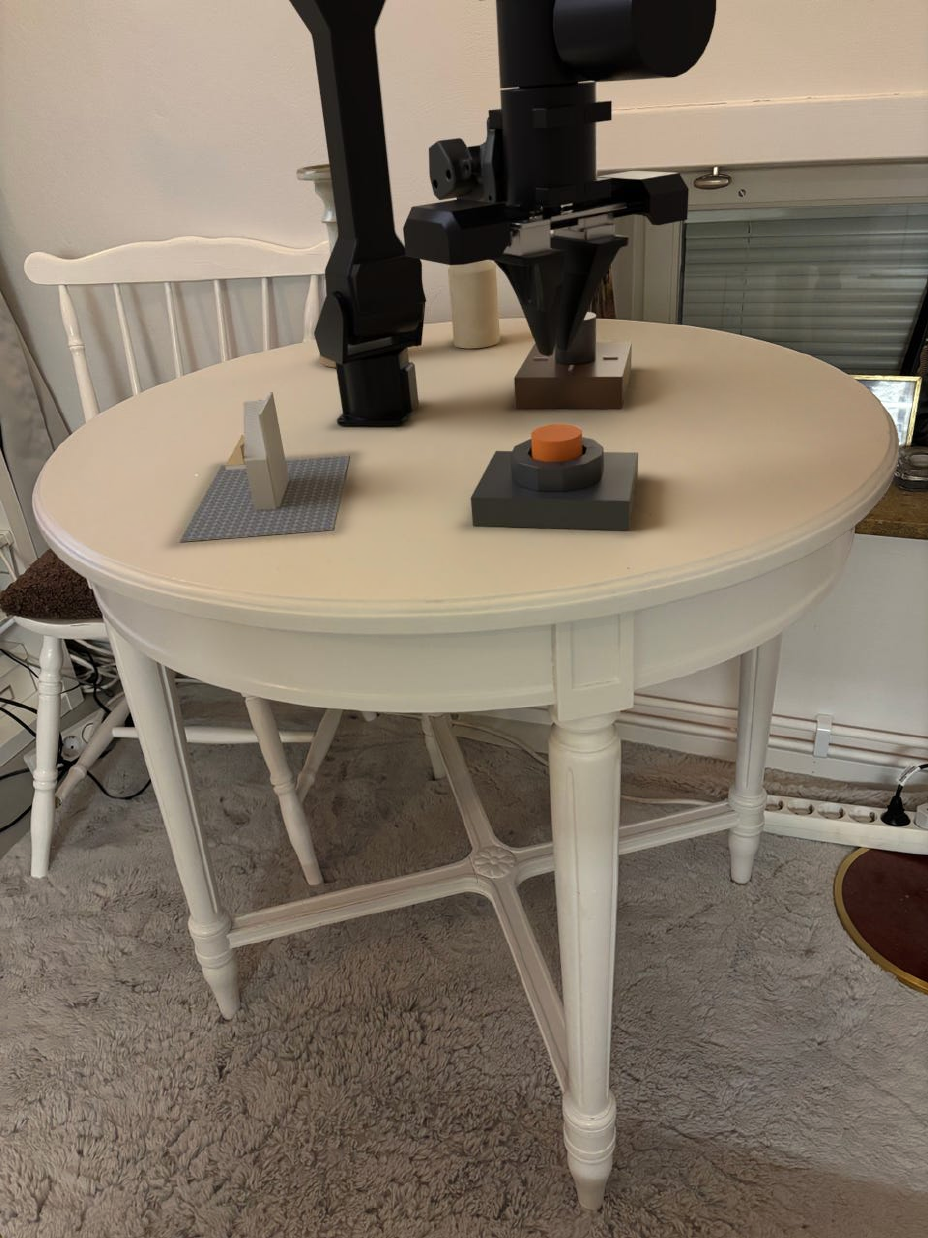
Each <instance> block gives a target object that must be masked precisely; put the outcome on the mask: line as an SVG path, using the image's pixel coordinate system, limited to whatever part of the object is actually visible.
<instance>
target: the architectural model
mask: <svg viewBox="0 0 928 1238" xmlns="http://www.w3.org/2000/svg"><path fill="white" fill-rule="evenodd" d="M279 423H280V422H279V417H278V412H277V407H276V402H275V397H274V392H273V391H269V392H268V395H267V397H266V399H259V400H250V401H249V400H248V401H247V400H246V401H243V434H241V436H240V438H239V439H238V441H237V443H236V445H235V447H234V448H233V451H232V452H231V454H230V456H229V457H228V459H227V462H226V463H225V464H224V465H220V467H219V469H218V470H217V472H216V474H215V476H214V477H213V479H212V481H211V483H210V485H209V487H208V488H207V490H206V492H205V494H204V496H203V498H202V499H201V501H200V503H199V505H198V506H197V508H196V510H195V512H194V514H193V515H192V517H191V519H190V520H189V523H188V525H187V527H186V529H185V530H184V532H183V534H182V535H181V537H180V538H179V541H178V542H179V543H182V542H183V543H184V542H196V541H197V542H198V541H207V540H208V541H209V540H220V539H221V540H222V539H233V538H235V539H236V538H246V537H259V536H271V535H283V534H297V533H311V532H323V531H333V530H334V526H335V521H336V518H337V513H338V509H339V506H340V500H341V496H342V491H343V487H344V482H345V478H346V474H347V471H348V470H347V469H348V465H349V461H350V457H351V456H350V454H349V455H337V456H324V457H311V458H298V459H288V460H287V459H286V455H285V450H284V445H283V439H282V434H281V429H280V424H279Z"/></svg>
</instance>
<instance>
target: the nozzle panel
mask: <svg viewBox="0 0 928 1238" xmlns="http://www.w3.org/2000/svg"><path fill="white" fill-rule="evenodd" d="M632 349H633V342H632V341H598V342H597V341H596V359H595V360H593V361H590V362H587V363H581V364H564V363H559V362H557V361H556V360H555V348H554V352H553V355H551V356H545V355H542V354H540V353H539V351H538V349H537V346H536V343H535V342H534V344H533V346H532V347H531V349H530V351H529V352H528V354H527V356H526V357H525V359H524V361H523V363H522V364H521V366H519V369H518V371H517V372H516V374H515V376H514V377H513V381H514V382H513V383H514V404H515V409H516V410H519V409H520V410H524V409H525V410H526V409H527V410H544V409H545V410H546V409H547V410H548V409H549V410H551V409H553V410H554V409H555V410H566V409H567V410H568V409H569V410H573V409H574V410H582V409H584V410H585V409H587V410H596V409H597V410H603V409H604V410H607V409H608V410H610V409H611V410H612V409H613V410H618V409H619V410H622V409H623V407H624V401H625V397H626V394H627V389H628V385H629V381H630V377H631V374H632V357H633V356H632V354H633V353H632V352H633V351H632Z"/></svg>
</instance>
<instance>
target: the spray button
mask: <svg viewBox="0 0 928 1238" xmlns="http://www.w3.org/2000/svg"><path fill="white" fill-rule="evenodd" d="M530 434H531V435H530V436H531V437H530V439H531V442H532V458H533V459H537V460H541V461H544V462H562V461H568V460H573V459H577V458H579V457H581V456H582V437H583V431H582V429H581V428H580V427H578V426H577V425H573V424H567V423H552V424H546V425H542V426H539V427H537V428H534V429H533V430H532V431H531V433H530Z"/></svg>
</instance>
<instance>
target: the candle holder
mask: <svg viewBox="0 0 928 1238" xmlns="http://www.w3.org/2000/svg"><path fill="white" fill-rule="evenodd" d="M295 176H296V179H297V180H299V181H310V182H313V184H314V192H315V194H316V195H317V196H318V197H320V199H321V201H322V203H323V205H324V211H323V214H322V217H321V220H320V222H321V223H322V224H325V226H326V231H327V236H328V245H329V257H330V256H331V253H332V250H333V248H334V245H335V243H336V240H337V238H338V227H337V219H336V212H335V204H334V197H333V189H332V181H331V174H330V166H329V163H323V164H315V165H309V166H302V167H300V168H297V169H296V171H295ZM323 292H324V296H326V282H325V280H324V281H323ZM319 361H320V363H321V364H322V365H323V366H326V367H327V368H328V367H329V368H335V369H336V365H335V362H334V361H332V360H329V359H327V358H324V357H322V356H321V355H320V353H319Z"/></svg>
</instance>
